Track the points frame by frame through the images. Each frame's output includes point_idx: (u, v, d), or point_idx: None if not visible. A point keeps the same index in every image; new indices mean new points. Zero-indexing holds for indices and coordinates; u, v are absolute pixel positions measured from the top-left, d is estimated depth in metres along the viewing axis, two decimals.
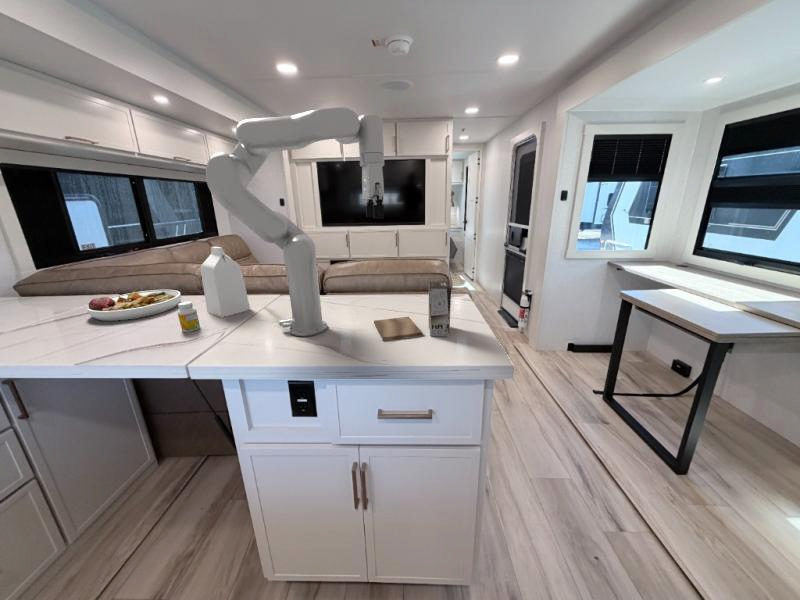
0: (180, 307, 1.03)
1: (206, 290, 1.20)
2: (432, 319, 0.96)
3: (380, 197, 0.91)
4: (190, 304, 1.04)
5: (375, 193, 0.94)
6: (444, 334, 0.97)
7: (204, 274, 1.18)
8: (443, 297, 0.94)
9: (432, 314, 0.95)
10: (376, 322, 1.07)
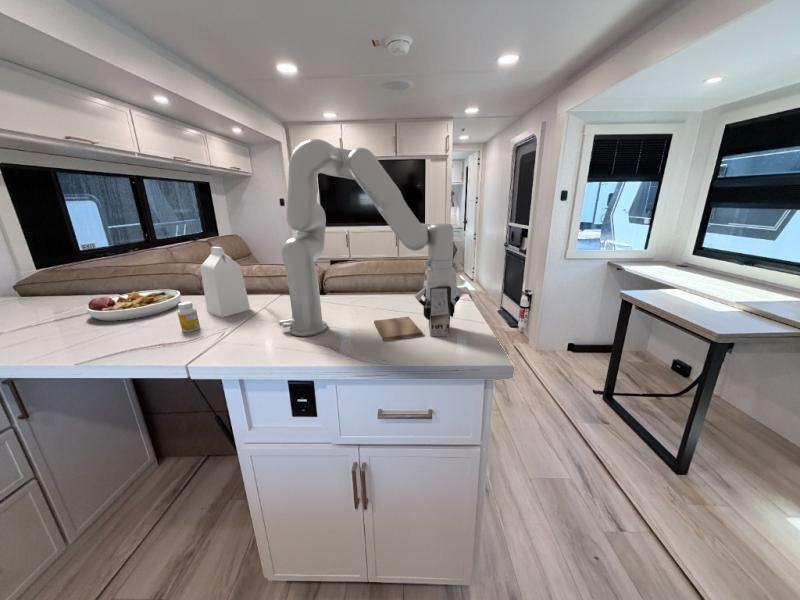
0: (180, 307, 1.03)
1: (206, 290, 1.20)
2: (432, 319, 0.96)
3: None
4: (190, 304, 1.04)
5: None
6: (444, 334, 0.97)
7: (204, 274, 1.18)
8: (443, 297, 0.94)
9: (432, 314, 0.95)
10: (376, 322, 1.07)
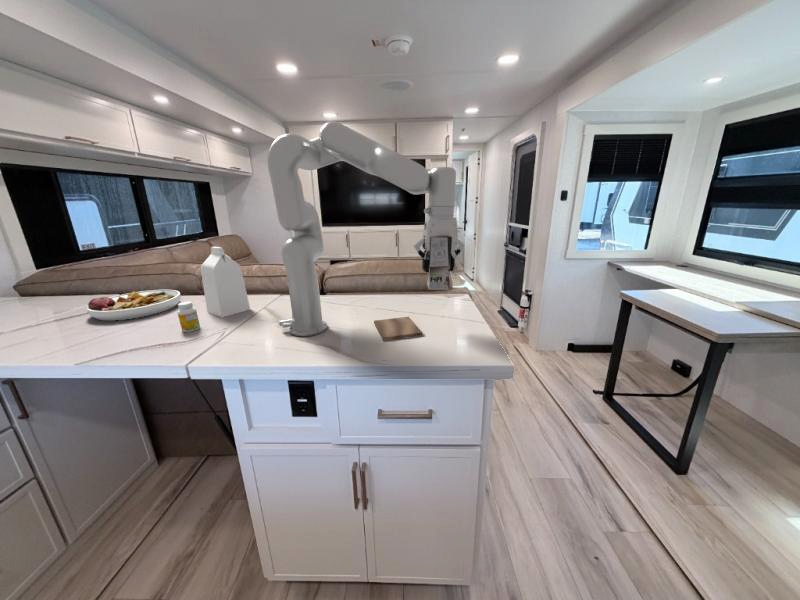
0: (180, 307, 1.03)
1: (206, 290, 1.20)
2: (431, 271, 0.91)
3: None
4: (190, 304, 1.04)
5: None
6: (443, 287, 0.93)
7: (204, 274, 1.18)
8: (443, 247, 0.89)
9: (431, 265, 0.91)
10: (376, 322, 1.07)
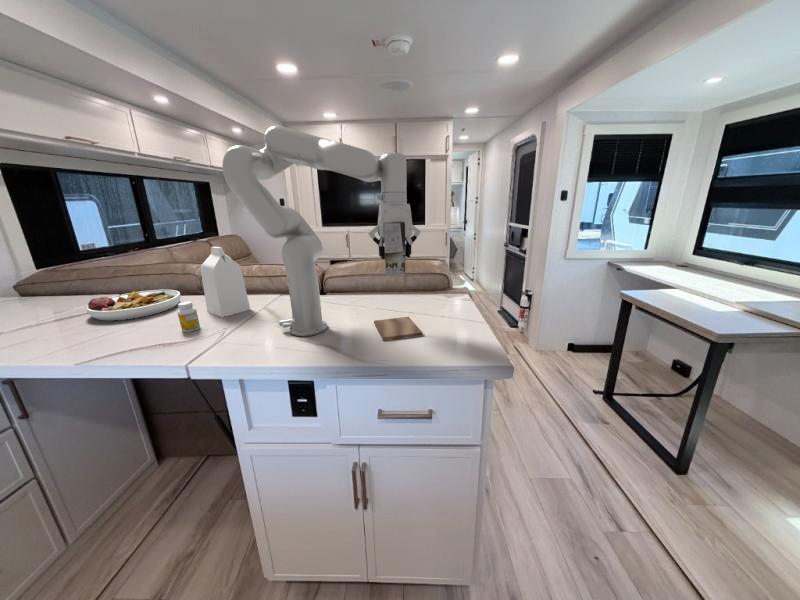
0: (180, 307, 1.03)
1: (206, 290, 1.20)
2: (386, 257, 0.92)
3: None
4: (190, 304, 1.04)
5: None
6: (399, 274, 0.93)
7: (204, 274, 1.18)
8: (397, 232, 0.90)
9: (386, 251, 0.91)
10: (376, 322, 1.07)
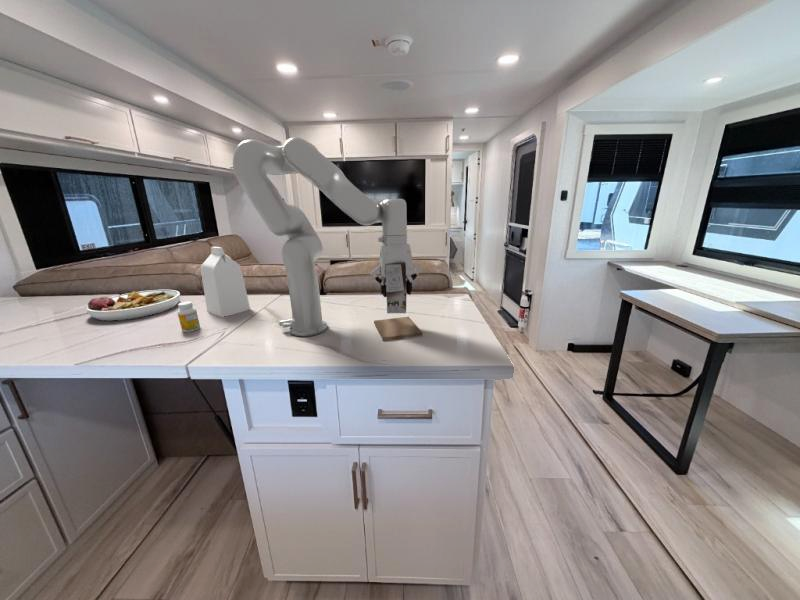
0: (180, 307, 1.03)
1: (206, 290, 1.20)
2: (388, 296, 0.95)
3: None
4: (190, 304, 1.04)
5: None
6: (401, 311, 0.97)
7: (204, 274, 1.18)
8: (398, 273, 0.93)
9: (387, 291, 0.95)
10: (376, 322, 1.07)
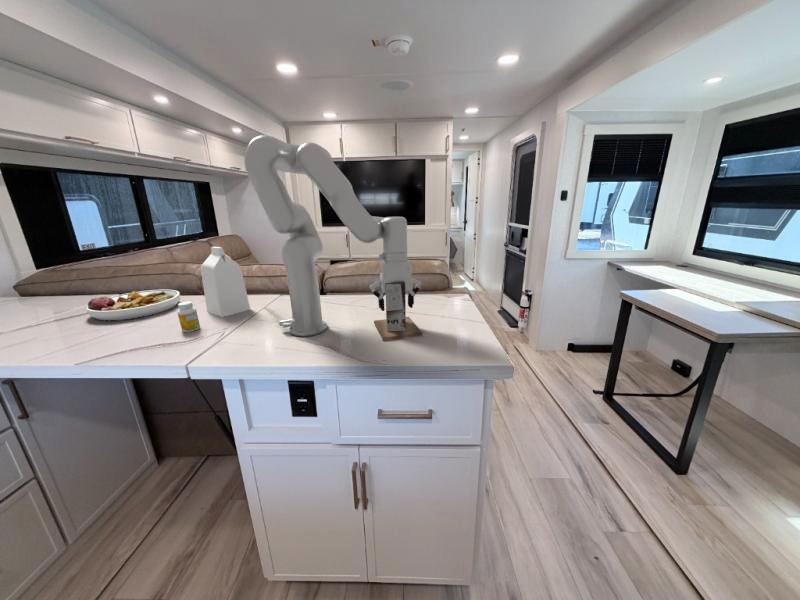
0: (180, 307, 1.03)
1: (206, 290, 1.20)
2: (388, 314, 0.97)
3: None
4: (190, 304, 1.04)
5: None
6: (400, 329, 0.99)
7: (204, 274, 1.18)
8: (397, 292, 0.95)
9: (387, 309, 0.97)
10: (376, 322, 1.07)
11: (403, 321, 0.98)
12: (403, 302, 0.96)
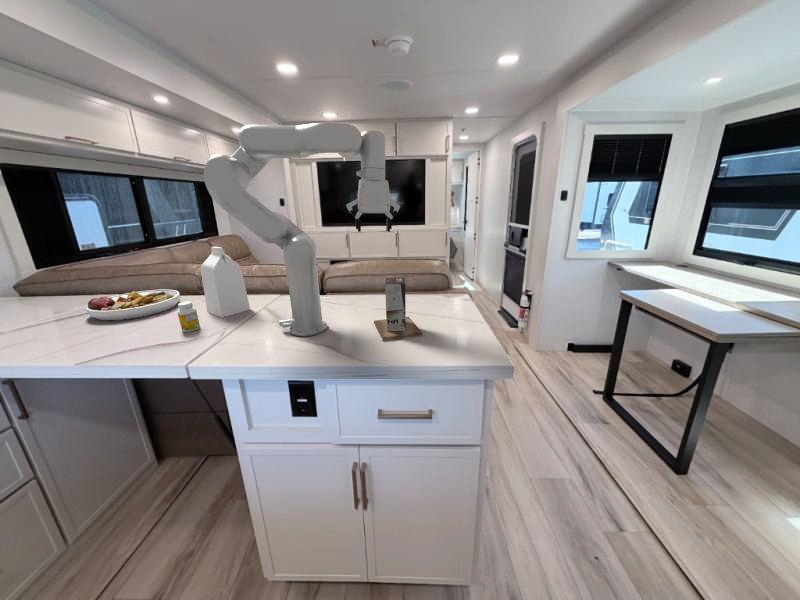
0: (180, 307, 1.03)
1: (206, 290, 1.20)
2: (388, 314, 0.97)
3: None
4: (190, 304, 1.04)
5: None
6: (400, 329, 0.99)
7: (204, 274, 1.18)
8: (397, 292, 0.95)
9: (387, 309, 0.97)
10: (376, 322, 1.07)
11: (403, 321, 0.98)
12: (403, 302, 0.96)
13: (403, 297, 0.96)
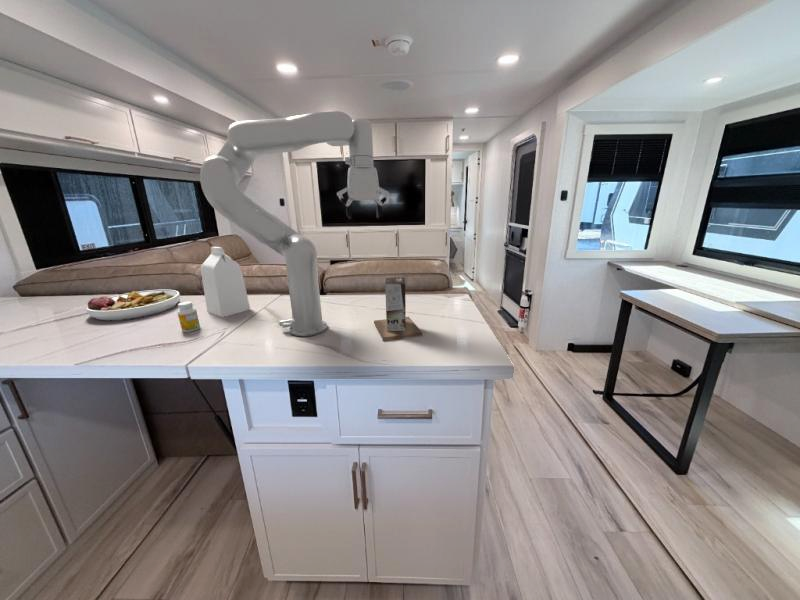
0: (180, 307, 1.03)
1: (206, 290, 1.20)
2: (388, 314, 0.97)
3: None
4: (190, 304, 1.04)
5: None
6: (400, 329, 0.99)
7: (204, 274, 1.18)
8: (397, 292, 0.95)
9: (387, 309, 0.97)
10: (376, 322, 1.07)
11: (403, 321, 0.98)
12: (403, 302, 0.96)
13: (403, 297, 0.96)
